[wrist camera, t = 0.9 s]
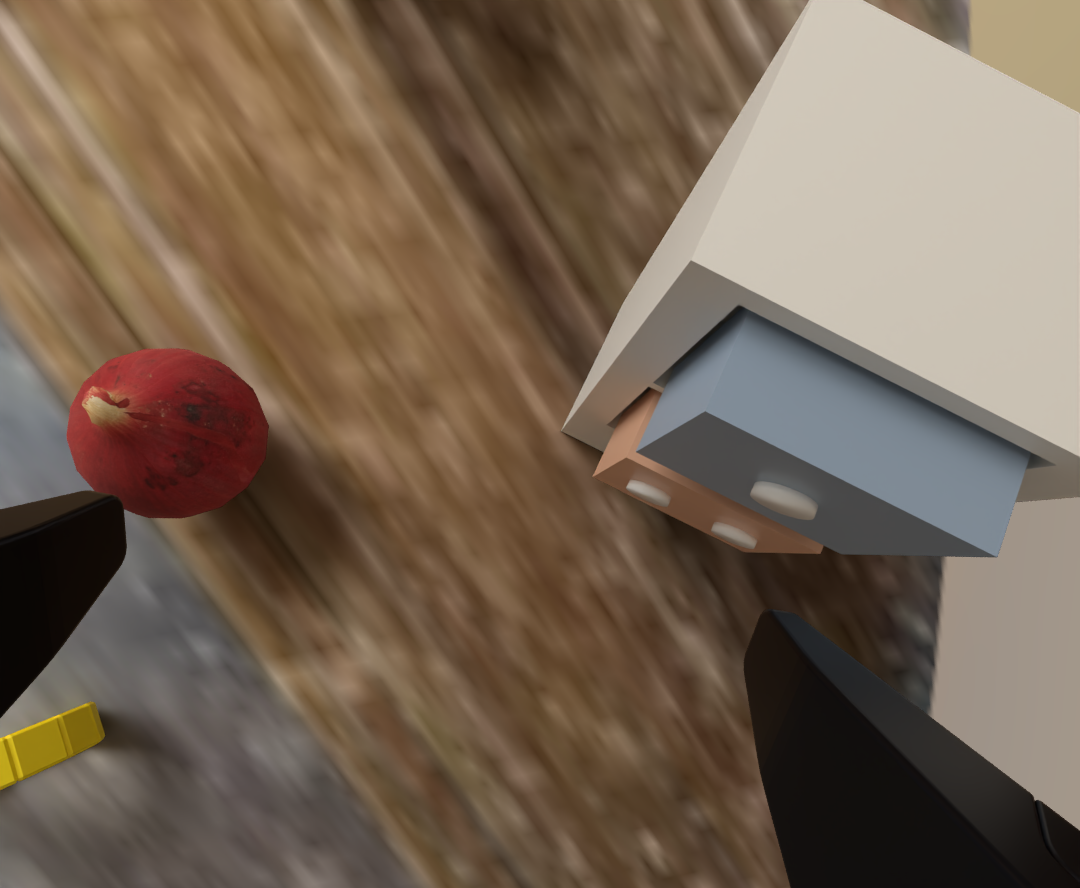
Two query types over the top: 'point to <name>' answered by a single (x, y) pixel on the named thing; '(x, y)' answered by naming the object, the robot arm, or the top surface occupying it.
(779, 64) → the box
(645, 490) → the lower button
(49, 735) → the watch
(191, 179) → the top surface
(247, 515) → the top surface
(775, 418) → the upper drawer
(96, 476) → the onion
